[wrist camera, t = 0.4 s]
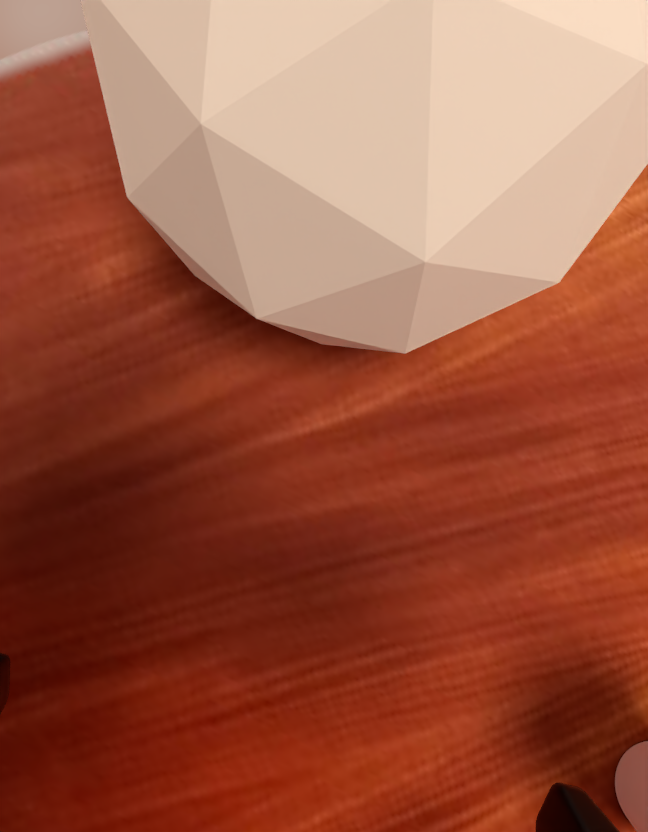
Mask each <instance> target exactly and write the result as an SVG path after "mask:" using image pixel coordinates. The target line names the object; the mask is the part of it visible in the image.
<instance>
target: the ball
mask: <svg viewBox="0 0 648 832" xmlns="http://www.w3.org/2000/svg"><path fill="white" fill-rule="evenodd" d="M81 5H82V9H83V13H84V17H85V21H86V26H87V30H88V34H89V39H90V43H91V47H92V51H93V55H94V60H95V64H96V68H97V72H98V77H99V81H100V85H101V89H102V93H103V98H104V102H105V106H106V110H107V115H108V119H109V123H110V127H111V131H112V136H113V140H114V144H115V148H116V153H117V157H118V161H119V165H120V169H121V174H122V178H123V182H124V186H125V191H126V195H127V198H128V199H129V200H130V201H131V203H132V204H133V205H134V206H135V207H136V208H137V210H138V211H139V212H140V213H141V214H142V215H143V216H144V218H145V219H146V220H147V221H148V222H149V223H150V225H151V226H152V227H153V228H154V229H155V230H156V231H157V233H158V234H159V235H160V236H161V237H162V238H163V240H164V241H165V242H166V243H167V244H168V245H169V247H170V248H171V249H172V250H173V251H174V252H175V253H176V255H177V256H178V257H179V258H180V259H181V260H182V262H183V263H184V264H185V265H186V266H187V267H188V268H189V270H190V271H191V272H192V273H193V274H194V275H195V276H196V277H197V278H199V279H200V280H202V281H203V282H205V283H206V284H207V285H209V286H210V287H212V288H213V289H215V290H216V291H217V292H219V293H220V294H222V295H223V296H225V297H226V298H228V299H229V300H230V301H232V302H233V303H235V304H236V305H238V306H239V307H240V308H242V309H243V310H245V311H246V312H248V313H249V314H251V315H252V316H253V317H255V318H256V319H258V320H261V321H264V322H266V323H269V324H271V325H274V326H276V327H279V328H281V329H284V330H286V331H289V332H291V333H294V334H297V335H299V336H302V337H304V338H307V339H309V340H312V341H314V342H317V343H319V344H324V345H333V346H342V347H351V348H360V349H369V350H378V351H387V352H396V353H408V352H410V351H412V350H414V349H416V348H418V347H421V346H423V345H425V344H427V343H429V342H431V341H434V340H436V339H438V338H440V337H442V336H444V335H447V334H449V333H451V332H453V331H455V330H457V329H460V328H462V327H464V326H466V325H468V324H470V323H473V322H475V321H477V320H479V319H481V318H483V317H486V316H488V315H490V314H492V313H494V312H496V311H499V310H501V309H503V308H505V307H507V306H509V305H512V304H514V303H516V302H518V301H520V300H522V299H525V298H527V297H529V296H531V295H533V294H535V293H538V292H540V291H542V290H544V289H546V288H548V287H551V286H553V285H555V284H557V283H559V282H560V281H561V279H562V278H563V277H564V275H565V274H566V273H567V271H568V270H569V269H570V267H571V266H572V265H573V263H574V262H575V261H576V259H577V258H578V257H579V255H580V254H581V253H582V251H583V250H584V249H585V247H586V246H587V245H588V243H589V242H590V241H591V239H592V238H593V237H594V235H595V234H596V233H597V231H598V230H599V228H600V227H601V226H602V224H603V223H604V222H605V220H606V219H607V218H608V216H609V215H610V214H611V212H612V211H613V210H614V208H615V207H616V206H617V204H618V203H619V202H620V200H621V199H622V198H623V196H624V195H625V194H626V192H627V191H628V190H629V188H630V187H631V186H632V184H633V183H634V181H635V180H636V179H637V177H638V176H639V175H640V173H641V172H642V171H643V169H644V168H645V167H646V165H647V164H648V0H81Z"/></svg>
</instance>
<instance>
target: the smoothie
mask: <svg viewBox="0 0 648 832" xmlns="http://www.w3.org/2000/svg"><path fill="white" fill-rule="evenodd" d="M615 790H616V795H617V799H618V802H619V805H620V807H621V809H622V811H623V812H624V814H625V816H626V817H627V818H628V820H629V821H630V823H631V824H632V826H633V827H634V829H635V830H636V831H637V832H648V741H644V742H641V743H638V744H636V745H634V746H632V747H631V748H630V749H628V750H627V751H626V752H625V754H624V755H623V756H622V758H621V759H620V761H619V763H618V766H617V769H616V774H615Z"/></svg>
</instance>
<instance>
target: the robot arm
mask: <svg viewBox="0 0 648 832" xmlns="http://www.w3.org/2000/svg"><path fill="white" fill-rule="evenodd" d="M9 681H10V658H9V656H8V655H6V654H2V653H0V714H1V712H2V710H3V709H4V706H5V704H6V702H7V699H8V695H9ZM536 832H619V831H618V829H617V828H616V827H615V826H614V825H613V824H612V822H611V821H610V820H609V819H608V818H607V817H606V815H605V814H604V813H603V812H602V811H601V810H600V808H599V807H598V806H597V805H596V804H595V803H594V801H593V800H592V799H591V798H590V797H589V796H588V794H587V793H586V792H585V791H583V790H582V789H581V788H579V787H576V786H572V785H567V784H563V783H555V784H554V785H552V787H551V789H550V791H549V793H548V795H547V797H546V799H545V801H544V803H543V805H542V807H541V809H540V811H539V813H538V816H537V820H536Z"/></svg>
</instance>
